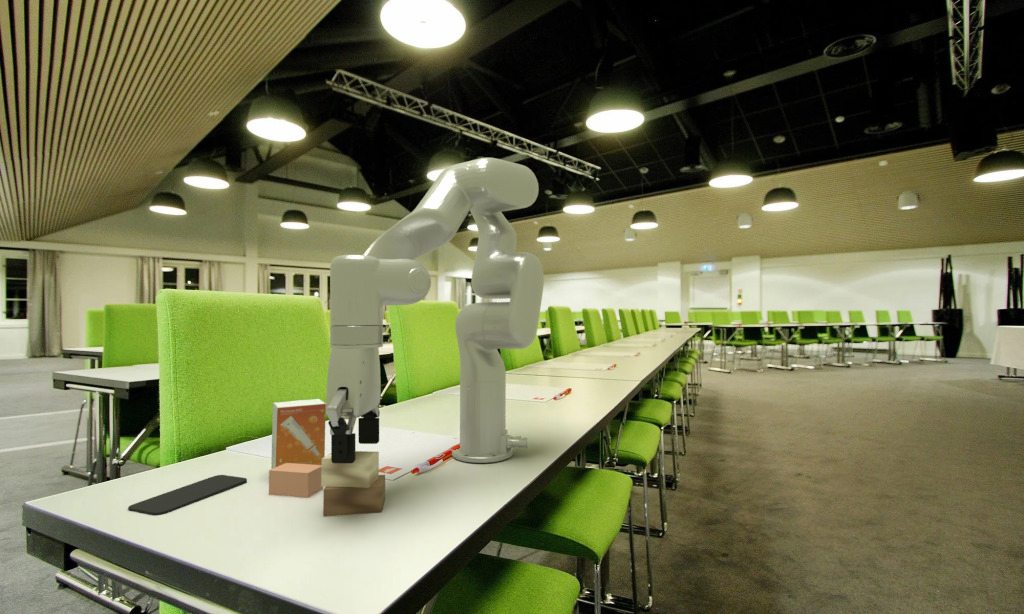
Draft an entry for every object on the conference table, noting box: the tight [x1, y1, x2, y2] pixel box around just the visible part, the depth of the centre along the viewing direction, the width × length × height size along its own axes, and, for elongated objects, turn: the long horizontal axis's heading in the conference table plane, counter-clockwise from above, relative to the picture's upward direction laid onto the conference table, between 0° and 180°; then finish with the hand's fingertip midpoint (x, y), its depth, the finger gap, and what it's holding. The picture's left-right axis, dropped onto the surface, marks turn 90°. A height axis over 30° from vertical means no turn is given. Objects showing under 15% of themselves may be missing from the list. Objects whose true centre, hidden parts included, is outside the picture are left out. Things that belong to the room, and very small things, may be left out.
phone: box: [127, 474, 248, 516], centre depth 73 cm, size 7×1×15 cm
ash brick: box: [321, 450, 380, 488], centre depth 68 cm, size 7×4×4 cm, turn 86°
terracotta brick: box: [268, 463, 324, 499], centre depth 74 cm, size 7×4×4 cm, turn 79°
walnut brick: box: [322, 474, 386, 517], centre depth 68 cm, size 8×5×4 cm, turn 100°
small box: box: [270, 398, 327, 470], centre depth 83 cm, size 8×6×13 cm
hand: (357, 452), depth 68 cm, fingers open, 9 cm apart
